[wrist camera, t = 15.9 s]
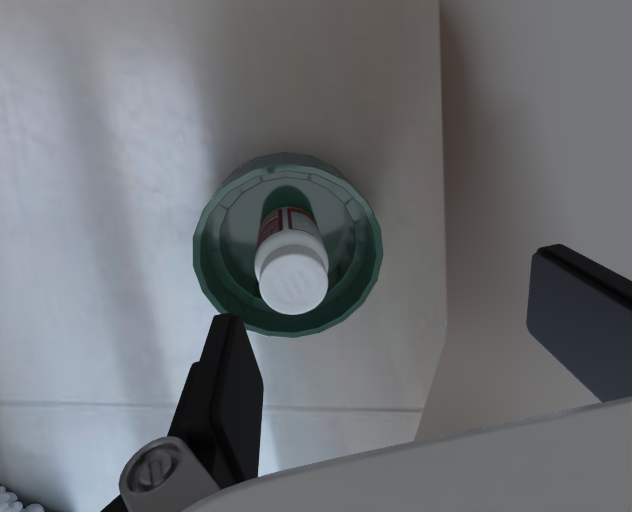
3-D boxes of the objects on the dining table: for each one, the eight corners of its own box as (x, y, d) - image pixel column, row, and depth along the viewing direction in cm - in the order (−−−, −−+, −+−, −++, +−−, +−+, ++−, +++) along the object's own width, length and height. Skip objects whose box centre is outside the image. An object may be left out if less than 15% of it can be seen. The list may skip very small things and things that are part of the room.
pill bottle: (262, 263, 37) (256, 325, 27) (255, 207, 34) (245, 252, 24) (320, 258, 37) (336, 317, 27) (317, 202, 35) (333, 244, 25)
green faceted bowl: (353, 137, 33) (371, 145, 27) (372, 283, 40) (389, 318, 33) (186, 170, 33) (164, 186, 26) (232, 312, 40) (224, 352, 33)
